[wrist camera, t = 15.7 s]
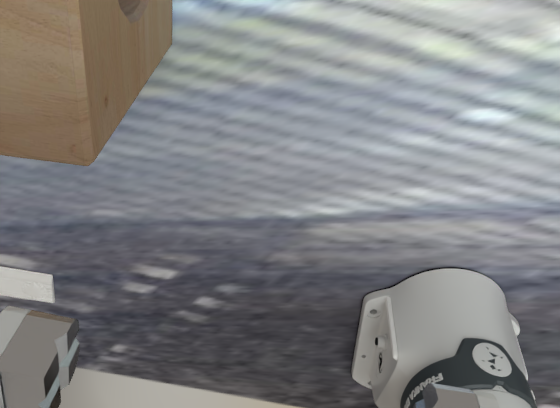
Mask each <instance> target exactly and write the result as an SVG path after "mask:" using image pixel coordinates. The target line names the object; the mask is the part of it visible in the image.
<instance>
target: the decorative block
mask: <svg viewBox="0 0 560 408" xmlns="http://www.w3.org/2000/svg"><path fill="white" fill-rule="evenodd" d="M171 44H172V0H0V155H5V156H13V157H20V158H28V159H36V160H44V161H52V162H59V163H67V164H75V165H83V166H89V165H90V164H91V163H92V162H94V160H95V159H96V157H97V156H98V154H99V153H100V151H101V150H102V148H103V147H104V145H105V144H106V142H107V141H108V139H109V138H110V136H111V135H112V133H113V132H114V130H115V129H116V127H117V126H118V124H119V123H120V121H121V120H122V118H123V117H124V115H125V114H126V112H127V111H128V109H129V108H130V106H131V105H132V103H133V102H134V100H135V99H136V97H137V96H138V94H139V92H140V91H141V89H142V88H143V86H144V85H145V83H146V82H147V80H148V79H149V77H150V76H151V74H152V73H153V71H154V70H155V68H156V67H157V65H158V64H159V62H160V61H161V59H162V58H163V56H164V55H165V53H166V52H167V50H168V49H169V47H170V46H171Z"/></svg>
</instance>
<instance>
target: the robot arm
mask: <svg viewBox="0 0 560 408" xmlns="http://www.w3.org/2000/svg"><path fill="white" fill-rule="evenodd" d="M373 309H375V310H373ZM78 331H79V321H78V320H77V319H72V318H67V317H62V316H58V315H53V314H48V313H43V312H38V311H34V310H28V309H23V308H18V307H13V306H7V307H6V308H5V309H4V310H3V311H1V313H0V408H58V407H59V405H60V403H61V395H60V390H62V389H63V388H64V387H66V386H67V385H69V383H70V381H71V379H72V376H73V374H74V371H75V368H76V365H77V361H78V356H79V342H78V341H77V340H76V339H75V337H76V335H77V333H78ZM519 333H520V327H519V324H518V321H517V320H516V319H515V317H514V316H513V315H512V314H511V313H509V311H508V309H507V304H506V299H505V296H504V293H503V292H502V290H501V289H500V287H499V286H498V285H497V284H496V283H495V282H494V281H492V280H491V279H490V278H488V277H486V276H484V275H482V274H480V273H477V272H474V271H470V270H464V269H450V268H449V269H437V270H431V271H427V272H423V273H420V274H417V275H415V276H412V277H410V278H408V279H406V280H404V281H403V282H401V283H399V284H398V285H396V286H394V287H391V288H388V289H384V290H379V291H375V292H372V293H370V294H368V295H366V296H365V297H364V299H363V305H362V310H361V316H360V322H359V328H358V334H357V339H356V345H355V351H354V357H353V363H352V369H351V373H352V377H353V379H354V380H355V381H357V382H358V383H359V384H361V385H363V386H365V387H367V388H370V389H372V393H373V398H374V402H375V404H376V405H377V406H378V407H379V408H537V406H536V402H535V397H534V394H533V392H532V390H531V389H530V387H529V384H528V382H527V380H528V375H527V371H526V367H525V364H524V360H523V357H522V353H521V350H520V347H519V343H518V340H517V337H516V336H517V335H518V334H519Z"/></svg>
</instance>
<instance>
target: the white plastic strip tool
mask: <svg viewBox="0 0 560 408" xmlns="http://www.w3.org/2000/svg"><path fill="white" fill-rule="evenodd" d="M0 295H2V296H4V295H5V296H8V297H10V296H11V297H14V298H16V297H18V298H20V299H22V298H24V299H26V300H28V299H30V300H37V301H43V302H49V303H54V302H55V297H54V286H53V275H49V274H43V273H37V272H31V271H25V270H19V269H13V268H7V267H1V266H0Z"/></svg>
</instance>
